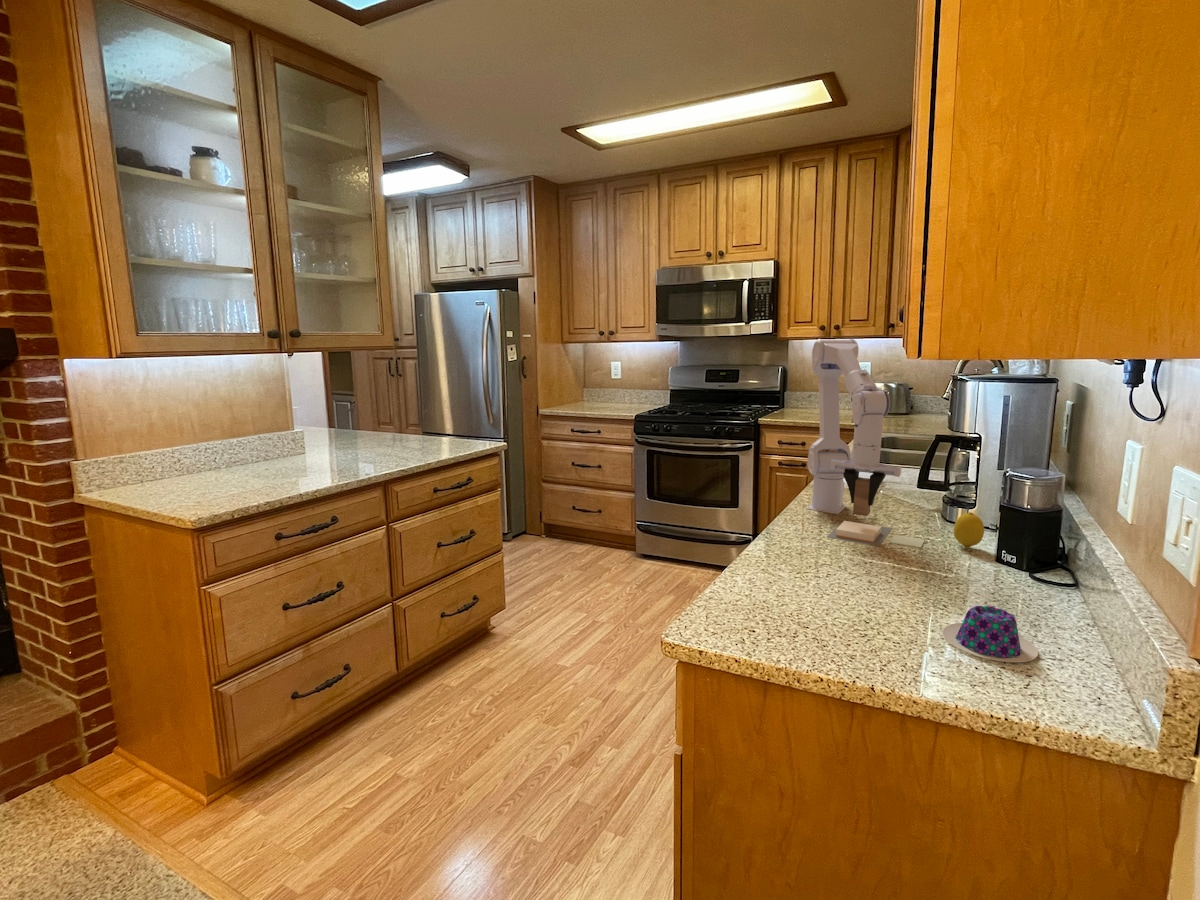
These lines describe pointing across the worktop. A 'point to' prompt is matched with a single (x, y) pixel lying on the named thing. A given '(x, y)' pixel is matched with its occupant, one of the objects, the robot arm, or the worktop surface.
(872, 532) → the tile
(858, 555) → the worktop surface
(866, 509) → the block
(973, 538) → the lemon
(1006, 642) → the purple patterned hat
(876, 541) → the mat
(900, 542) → the board
